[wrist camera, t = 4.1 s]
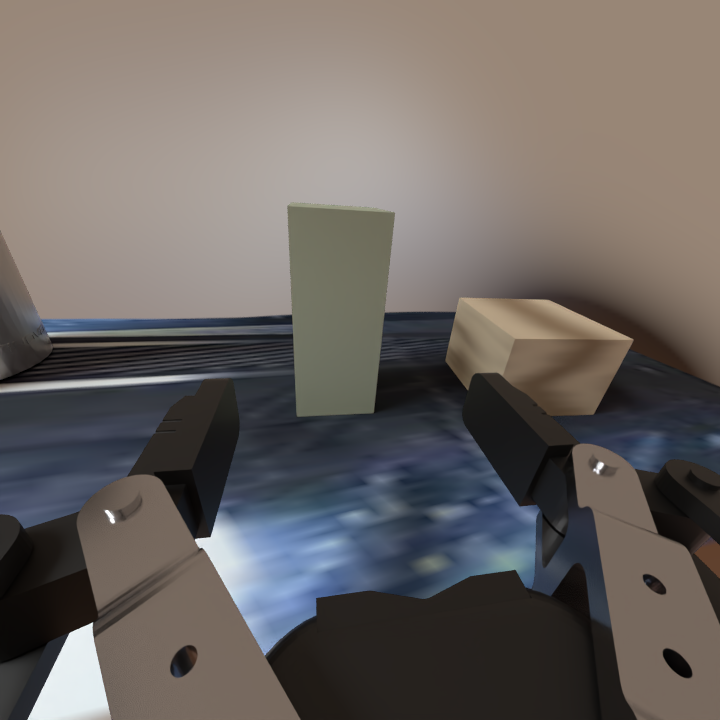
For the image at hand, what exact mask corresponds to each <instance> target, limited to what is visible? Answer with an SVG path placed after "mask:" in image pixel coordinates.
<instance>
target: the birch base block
mask: <svg viewBox="0 0 720 720" xmlns="http://www.w3.org/2000/svg"><path fill="white" fill-rule="evenodd" d="M632 342H633V339H631V338H629V337H627V336H625V335H622V334H620V333H618V332H616V331H614V330H612V329H609V328H607V327H605V326H603V325H601V324H599V323H596V322H595V321H592V320H590V319H588V318H586V317H584V316H582V315H580V314H577V313H575V312H573V311H571V310H569V309H567V308H565V307H562V306H560V305H558V304H556V303H554V302H552V301H550V300H526V299H490V298H488V299H487V298H459V302H458V306H457V311H456V315H455V320H454V324H453V329H452V333H451V338H450V342H449V347H448V351H447V356H446V360H445V361H446V363H447V364H448V365H449V366H450V368H451V369H452V370H453V372H454V373H455V374H456V376H457V377H458V378H459V380H460V381H461V382H462V384H463V385H464V386H465V387H466V389H467V390H468V389H469V385H470V381H471V378H472V376H473V375H474V374H475V373H495V372H496V373H499V374H500V375H502V376H503V377H504V378H505V379H506V380H507V381H508V382H509V383H510V384H511V385H512V386H513V387H515V388H517V389H519V390H520V391H522V392H524V393H526V394H527V395H528V396H529V397H530V398H532V399H533V400H534V401H535V402H536V403H537V404H538V406H540V407H541V408H542V409H543V410H544V411H546V412H547V415H550V416H563V415H594V413H595V411H596V409H597V407H598V405H599V404H600V402H601V400H602V398H603V396H604V394H605V392H606V391H607V389H608V387H609V385H610V383H611V381H612V379H613V378H614V376H615V374H616V372H617V370H618V368H619V366H620V365H621V363H622V361H623V359H624V357H625V355H626V353H627V352H628V350H629V348H630V346H631V344H632Z"/></svg>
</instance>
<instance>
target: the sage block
mask: <svg viewBox="0 0 720 720" xmlns="http://www.w3.org/2000/svg"><path fill="white" fill-rule="evenodd" d="M394 217H395V213H394V212H389V211H385V210H381V209H377V208H369V207H352V206H338V205H321V204H306V203H291V204H289V205H288V229H289V251H290V275H291V297H292V320H293V343H294V365H295V388H296V410H297V417H302V416H323V415H345V414H366V413H374V406H375V397H376V387H377V378H378V368H379V359H380V349H381V340H382V331H383V321H384V312H385V302H386V293H387V283H388V274H389V265H390V255H391V245H392V236H393V227H394Z"/></svg>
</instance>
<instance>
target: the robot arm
mask: <svg viewBox="0 0 720 720" xmlns="http://www.w3.org/2000/svg"><path fill="white" fill-rule="evenodd" d="M52 350H53V345H52V343H51V341H50V339H49V336H48V334H47V332H46V330H45V328H44V326H43V323H42V321H41V319H40V317H39V315H38V313H37V310H36V308H35V306H34V304H33V302H32V299H31V297H30V295H29V292H28V290H27V288H26V286H25V284H24V281H23V279H22V277H21V275H20V273H19V271H18V268H17V266H16V264H15V262H14V260H13V257H12V256H11V253H10V251H9V249H8V247H7V244H6V242H5V240H4V238H3V236H2V234H1V231H0V380H1V379H4V378H7V377H10V376H12V375H15V374H17V373H19V372H22V371H24V370H26V369H29V368H30V367H32V366H34V365H36V364H38V363H39V362H41V361H42V360H44V359H45V358H46V357H48V356H49V354H50V353H51V352H52ZM462 414H463V421H464V424H465V426H466V428H467V429H468V431H469V432H470V434H471V435H472V436H473V438H474V439H475V441H476V442H477V444H478V445H479V447H480V448H481V450H482V451H483V453H484V454H485V456H486V457H487V459H488V460H489V462H490V463H491V465H492V466H493V468H494V469H495V471H496V472H497V474H498V475H499V477H500V478H501V480H502V481H503V482H504V484H505V485H506V487H507V488H508V490H509V491H510V493H511V494H512V496H513V497H514V499H515V500H516V502H517V503H518V505H519V506H528V505H537V506H538V507H539V508H540V511H539V513H538V515H537V519H536V552H535V577H534V582H533V586H532V589H529V588H525V586H524V585H523V583H522V581H521V579H520V577H519V575H518V574H517V572H516V570H512V571H505V572H498V573H490V574H483V575H476V576H470V577H468V578H466V579H465V580H463V581H461V582H459V583H457V584H455V585H453V586H451V587H449V588H447V589H446V590H444V591H442V592H440V593H438V594H436V595H434V596H432V597H430V598H427V599H419V598H413V597H406V596H400V595H394V594H388V593H381V592H375V591H363V592H356V593H349V594H342V595H335V596H328V597H321V598H316V614H317V615H316V616H314V617H312V618H310V619H308V620H306V621H304V622H303V623H301V624H300V625H298V626H297V627H295V628H294V629H292V630H291V631H290V632H289V633H287V634H286V635H285V636H284V637H283V638H282V639H280V640H279V641H278V642H277V643H276V644H275V645H274V646H273V647H272V649H271V650H270V651H269V652H268V653H267V654H266V655H265V656H264V654H263V652H262V650H261V649H260V647H259V645H258V643H257V642H256V640H255V638H254V636H253V635H252V633H251V631H250V629H249V627H248V626H247V624H246V622H245V620H244V619H243V617H242V615H241V613H240V611H239V610H238V608H237V606H236V604H235V603H234V601H233V599H232V597H231V595H230V594H229V592H228V590H227V588H226V587H225V585H224V583H223V581H222V580H221V578H220V576H219V574H218V572H217V571H216V569H215V567H214V565H213V564H212V562H211V560H210V558H209V557H208V555H207V553H206V552H205V551H204V549H203V548H200V549H199V547H198V546H197V544H196V542H195V539H197V538H206V537H211V534H212V530H213V526H214V523H215V519H216V516H217V512H218V508H219V505H220V501H221V498H222V494H223V491H224V487H225V483H226V480H227V476H228V473H229V469H230V465H231V462H232V458H233V455H234V451H235V447H236V444H237V440H238V436H239V414H238V408H237V401H236V395H235V389H234V383H233V380H232V379H231V378H225V379H204V380H203V382H202V384H201V386H200V388H199V389H198V391H197V393H196V395H195V396H185V397H183V398H182V399H181V400H179V401H178V402H177V403H176V404H174V405H173V406H172V407H171V408H170V409H169V411H168V412H167V414H166V416H165V417H164V419H163V423H160V425H159V427H158V428H157V430H156V434H154V435H153V436H152V438H151V439H150V441H149V443H148V444H147V446H146V447H145V449H144V451H143V452H142V454H141V455H140V457H139V458H138V460H137V462H136V463H135V465H134V466H133V468H132V470H131V471H130V473H129V474H128V476H127V477H126V478H122V479H120V480H117V481H115V482H113V483H111V484H109V485H107V486H106V487H104V488H102V489H101V490H99V491H98V492H97V493H95V494H94V495H93V496H92V497H91V498H90V499H89V500H88V501H87V502H86V503H85V504H84V506H83V507H82V509H81V510H80V511H79V512H76V513H74V514H71V515H67V516H64V517H61V518H58V519H55V520H51V521H48V522H45V523H42V524H39V525H35V526H32V527H29V528H26V529H24V528H23V527H22V525H21V524H20V523H19V521H18V520H17V519H16V518H15V517H13V516H10V515H2V514H1V515H0V720H27V719H28V717H29V715H30V713H31V711H32V709H33V707H34V705H35V703H36V701H37V699H38V696H39V694H40V692H41V690H42V688H43V686H44V684H45V682H46V680H47V678H48V676H49V674H50V672H51V670H52V668H53V666H54V663H55V661H56V659H57V657H58V655H59V653H60V651H61V649H62V647H63V645H64V643H65V641H66V639H67V637H68V635H69V633H70V632H72V631H74V630H77V629H79V628H81V627H83V626H86V625H88V624H90V623H92V622H93V636H94V642H95V647H96V651H97V656H98V660H99V665H100V669H101V674H102V678H103V683H104V687H105V692H106V696H107V701H108V705H109V710H110V714H111V719H112V720H720V579H719V578H718V577H717V576H716V575H715V574H714V573H713V572H712V571H711V570H710V569H709V568H708V567H707V566H706V565H705V564H704V563H703V562H702V561H701V560H700V559H699V558H698V557H697V556H696V555H695V554H694V553H695V552H696V551H697V550H698V549H699V548H700V547H701V546H702V545H703V544H704V543H705V542H706V541H707V540H708V539H709V538H710V537H712V538H713V539H714V540H715V541H716V542H717V543H718V544H719V545H720V475H718V474H717V473H715V472H713V471H711V470H709V469H707V468H705V467H703V466H700V465H698V464H695V463H692V462H688V461H684V460H675V459H674V460H669V461H668V462H666V464H665V465H664V466H663V468H662V469H661V470H660V472H659V473H654V472H648V471H643V470H637V469H634V468H633V467H632V466H631V465H630V464H629V463H628V462H627V461H626V460H624V459H623V458H622V457H620V456H619V455H617V454H615V453H614V452H612V451H610V450H607V449H605V448H603V447H600V446H596V445H592V444H580V443H579V442H578V441H577V440H576V439H575V438H574V437H573V436H572V435H570V434H569V433H568V432H567V431H566V430H565V429H564V428H563V427H562V426H561V425H560V424H559V423H557V422H556V421H555V420H554V419H553V418H552V417H551V416H550V415H547V412H546V411H544V410H543V409H542V408H541V407H540V406H538V404H537V403H536V402H535V401H534V400H533V399H532V398H530V397H529V396H528V395H527V394H526V393H524V392H522V391H520V390H519V389H517V388H515V387H513V386H512V385H511V384H510V383H509V382H508V381H507V380H506V379H505V378H504V377H503V376H502V375H500V374H499V373H496V372H495V373H475V374H474V375H473V376H472V378H471V381H470V385H469V389H468V392H467V396H466V399H465V403H464V406H463V413H462Z"/></svg>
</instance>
